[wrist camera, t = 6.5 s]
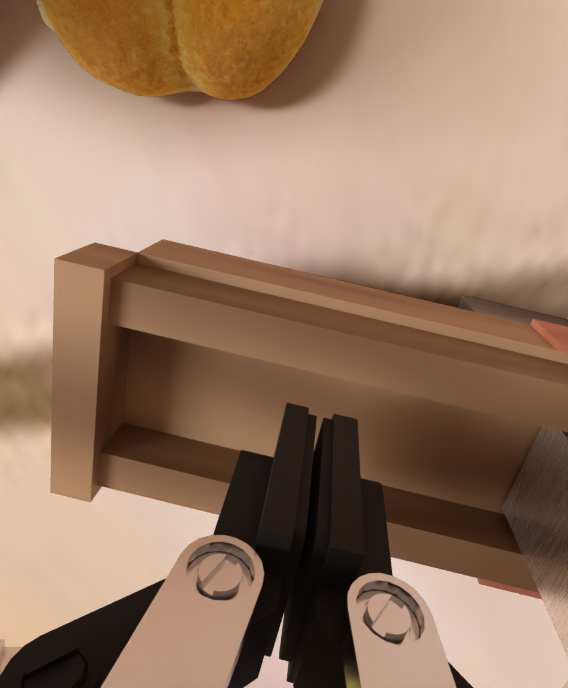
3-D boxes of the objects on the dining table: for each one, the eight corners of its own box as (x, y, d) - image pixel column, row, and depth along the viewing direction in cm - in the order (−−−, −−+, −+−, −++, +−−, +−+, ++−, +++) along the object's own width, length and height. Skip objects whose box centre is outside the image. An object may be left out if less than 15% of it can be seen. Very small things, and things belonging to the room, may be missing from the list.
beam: (168, 208, 19) (54, 250, 11) (883, 373, 18) (1259, 532, 11) (150, 376, 21) (50, 498, 14) (765, 523, 21) (996, 729, 14)
